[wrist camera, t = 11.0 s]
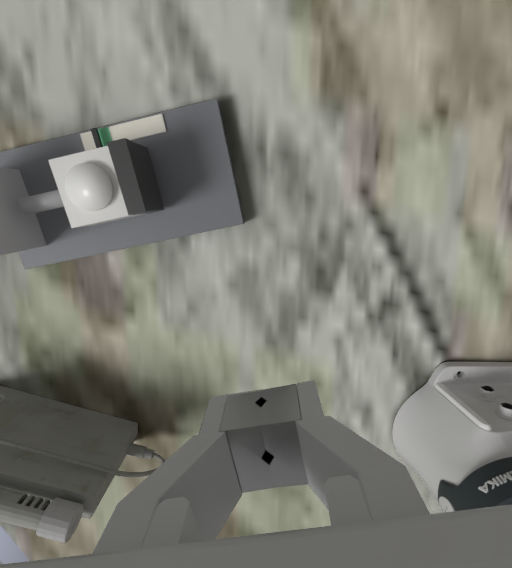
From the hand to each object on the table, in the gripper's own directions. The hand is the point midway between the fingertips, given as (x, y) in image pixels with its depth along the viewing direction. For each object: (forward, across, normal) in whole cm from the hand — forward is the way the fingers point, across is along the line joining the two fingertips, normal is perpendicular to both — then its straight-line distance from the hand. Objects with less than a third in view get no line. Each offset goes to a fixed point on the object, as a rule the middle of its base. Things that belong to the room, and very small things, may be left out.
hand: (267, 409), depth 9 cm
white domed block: (+25, -16, +11) cm, 32 cm away
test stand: (+27, -14, +10) cm, 32 cm away
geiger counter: (+27, -28, -16) cm, 42 cm away
